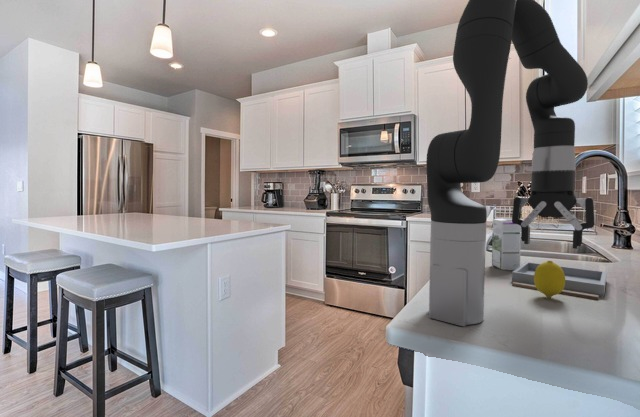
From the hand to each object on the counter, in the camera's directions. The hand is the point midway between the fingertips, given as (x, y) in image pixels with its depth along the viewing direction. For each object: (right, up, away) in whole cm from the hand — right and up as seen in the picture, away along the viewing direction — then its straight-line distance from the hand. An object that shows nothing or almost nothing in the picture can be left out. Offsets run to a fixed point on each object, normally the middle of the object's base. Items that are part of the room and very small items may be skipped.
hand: (550, 245), depth 72 cm
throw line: (+4, -11, +5) cm, 12 cm away
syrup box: (+6, -10, +28) cm, 30 cm away
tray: (+11, -10, +13) cm, 20 cm away
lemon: (0, -11, 0) cm, 11 cm away
